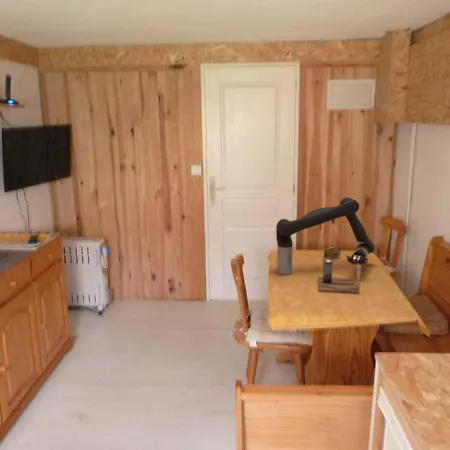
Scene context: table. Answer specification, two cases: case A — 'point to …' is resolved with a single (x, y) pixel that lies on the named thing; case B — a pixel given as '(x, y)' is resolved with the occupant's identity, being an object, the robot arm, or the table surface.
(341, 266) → the capstan
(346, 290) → the base
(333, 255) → the tin
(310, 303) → the table surface
